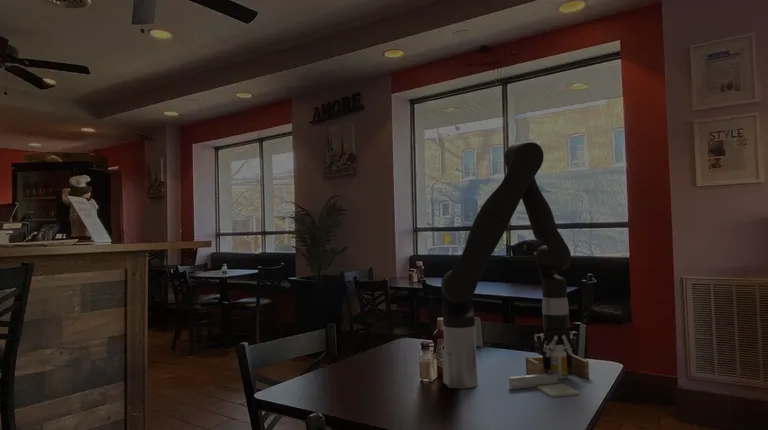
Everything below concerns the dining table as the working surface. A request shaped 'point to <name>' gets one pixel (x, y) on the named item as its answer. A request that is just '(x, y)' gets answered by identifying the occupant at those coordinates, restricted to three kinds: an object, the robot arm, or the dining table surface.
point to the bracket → (536, 367)
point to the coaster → (558, 390)
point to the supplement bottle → (559, 361)
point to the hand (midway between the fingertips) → (557, 367)
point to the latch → (533, 380)
